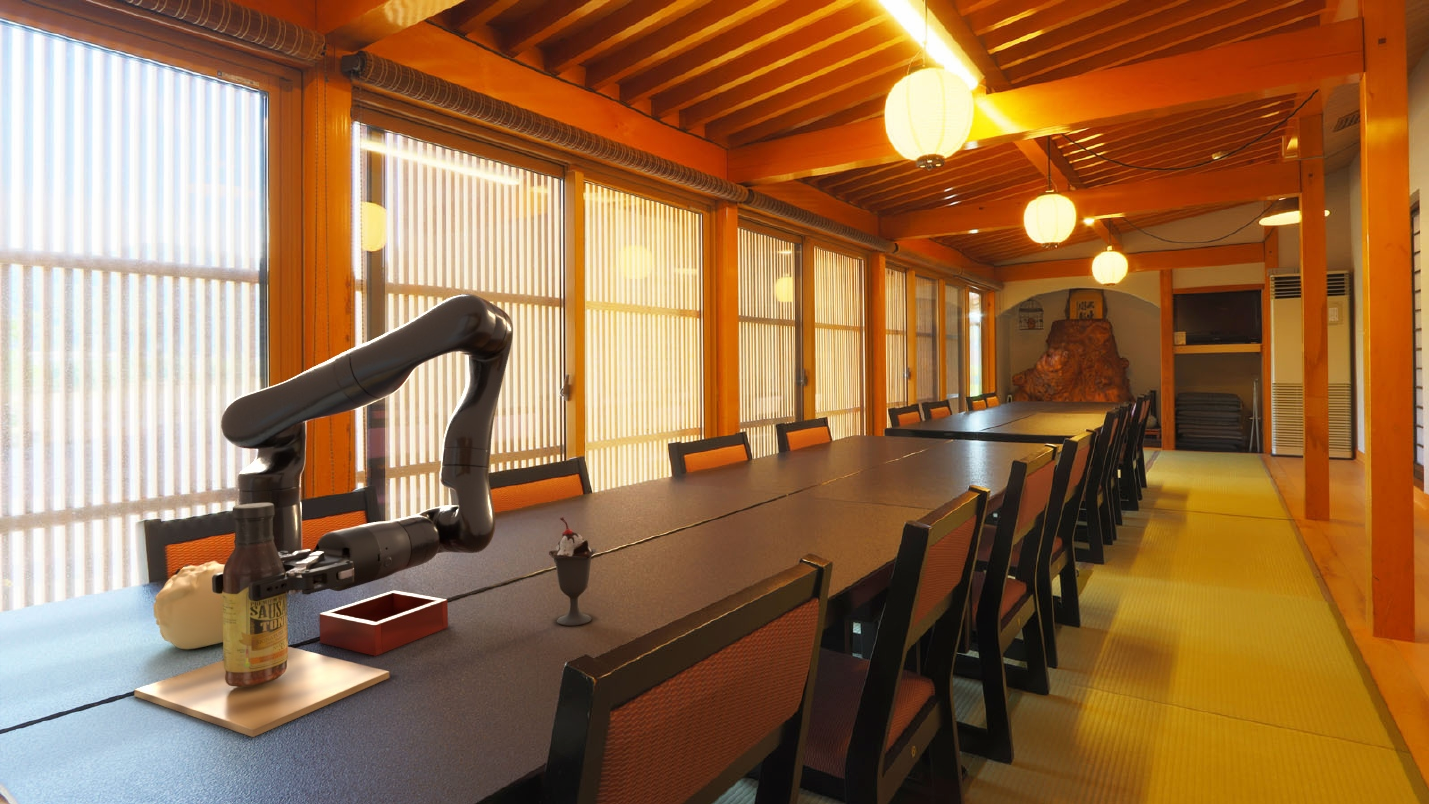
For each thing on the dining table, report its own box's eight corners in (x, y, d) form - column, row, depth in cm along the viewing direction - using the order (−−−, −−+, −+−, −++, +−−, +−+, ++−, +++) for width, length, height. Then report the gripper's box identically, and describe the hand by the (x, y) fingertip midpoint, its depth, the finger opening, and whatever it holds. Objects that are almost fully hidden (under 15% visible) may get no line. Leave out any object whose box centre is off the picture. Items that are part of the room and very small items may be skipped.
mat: (134, 696, 83) (133, 689, 83) (274, 649, 97) (274, 643, 97) (253, 737, 73) (252, 729, 73) (389, 678, 87) (389, 671, 87)
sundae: (553, 614, 110) (551, 514, 109) (598, 612, 111) (597, 513, 110) (547, 629, 103) (545, 523, 103) (595, 627, 104) (593, 521, 103)
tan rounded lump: (168, 634, 103) (165, 558, 103) (267, 622, 108) (265, 549, 107) (142, 663, 92) (139, 578, 92) (253, 648, 97) (250, 567, 97)
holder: (319, 643, 99) (318, 613, 99) (394, 616, 110) (393, 590, 109) (375, 656, 94) (374, 625, 94) (448, 627, 105) (447, 599, 105)
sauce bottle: (258, 692, 80) (250, 511, 79) (210, 688, 81) (201, 510, 81) (303, 668, 87) (296, 500, 86) (257, 664, 88) (250, 499, 87)
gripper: (327, 521, 99) (193, 549, 84) (401, 529, 93) (270, 561, 78) (329, 576, 100) (196, 613, 85) (403, 588, 93) (273, 631, 78)
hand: (232, 588), depth 81 cm, fingers closed on sauce bottle, 6 cm apart
